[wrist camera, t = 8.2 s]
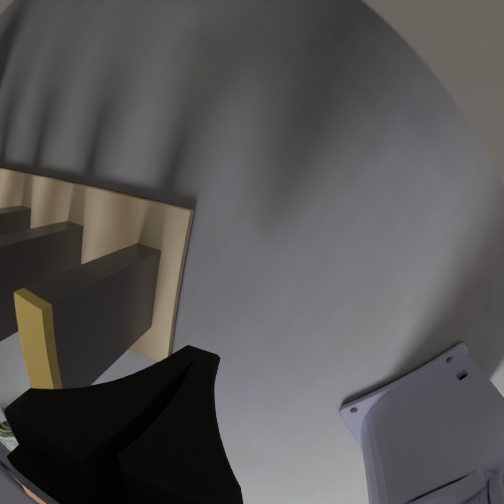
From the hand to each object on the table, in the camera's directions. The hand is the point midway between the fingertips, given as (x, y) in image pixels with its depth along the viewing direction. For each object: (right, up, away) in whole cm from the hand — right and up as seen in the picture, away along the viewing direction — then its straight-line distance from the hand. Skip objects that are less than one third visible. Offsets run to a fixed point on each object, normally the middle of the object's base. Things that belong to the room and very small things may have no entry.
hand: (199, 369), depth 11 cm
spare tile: (-4, +3, +6) cm, 8 cm away
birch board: (-19, +7, +8) cm, 21 cm away
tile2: (-10, +4, +6) cm, 13 cm away
